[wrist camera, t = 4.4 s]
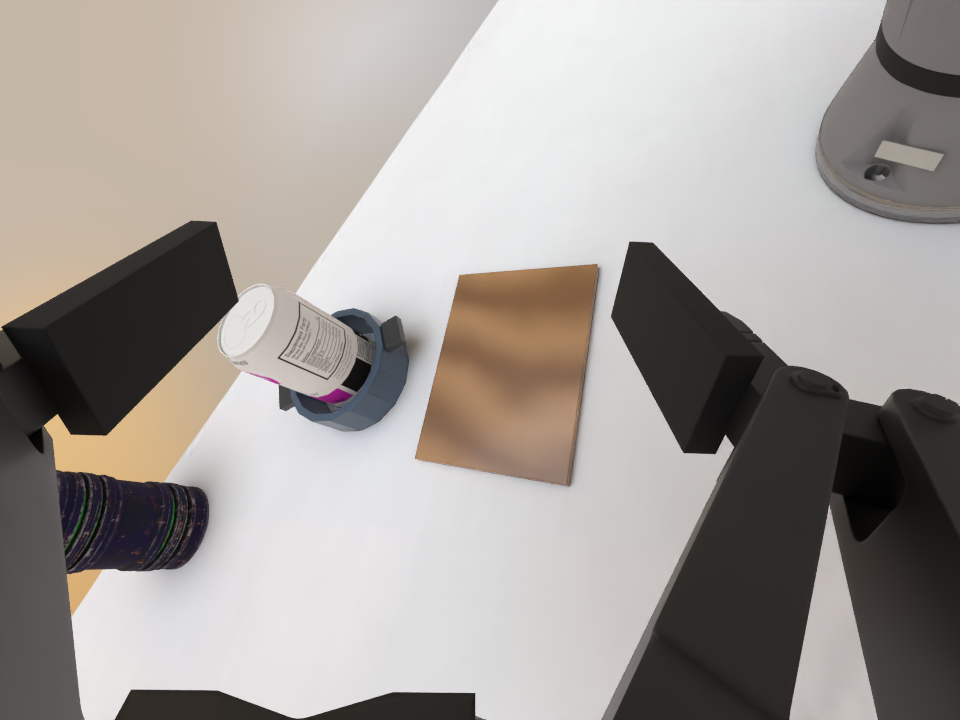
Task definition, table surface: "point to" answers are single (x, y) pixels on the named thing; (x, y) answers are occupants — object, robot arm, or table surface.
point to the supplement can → (295, 345)
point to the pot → (378, 386)
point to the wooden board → (512, 373)
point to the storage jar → (128, 523)
